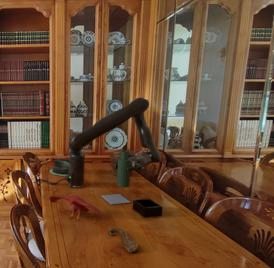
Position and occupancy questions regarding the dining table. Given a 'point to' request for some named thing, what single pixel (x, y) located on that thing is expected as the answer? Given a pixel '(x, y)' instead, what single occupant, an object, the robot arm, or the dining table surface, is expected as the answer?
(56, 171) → the green hat
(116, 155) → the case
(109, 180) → the dining table surface
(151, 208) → the holder
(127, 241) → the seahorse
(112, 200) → the coaster
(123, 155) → the bottle
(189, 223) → the dining table surface
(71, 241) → the dining table surface
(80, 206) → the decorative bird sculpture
